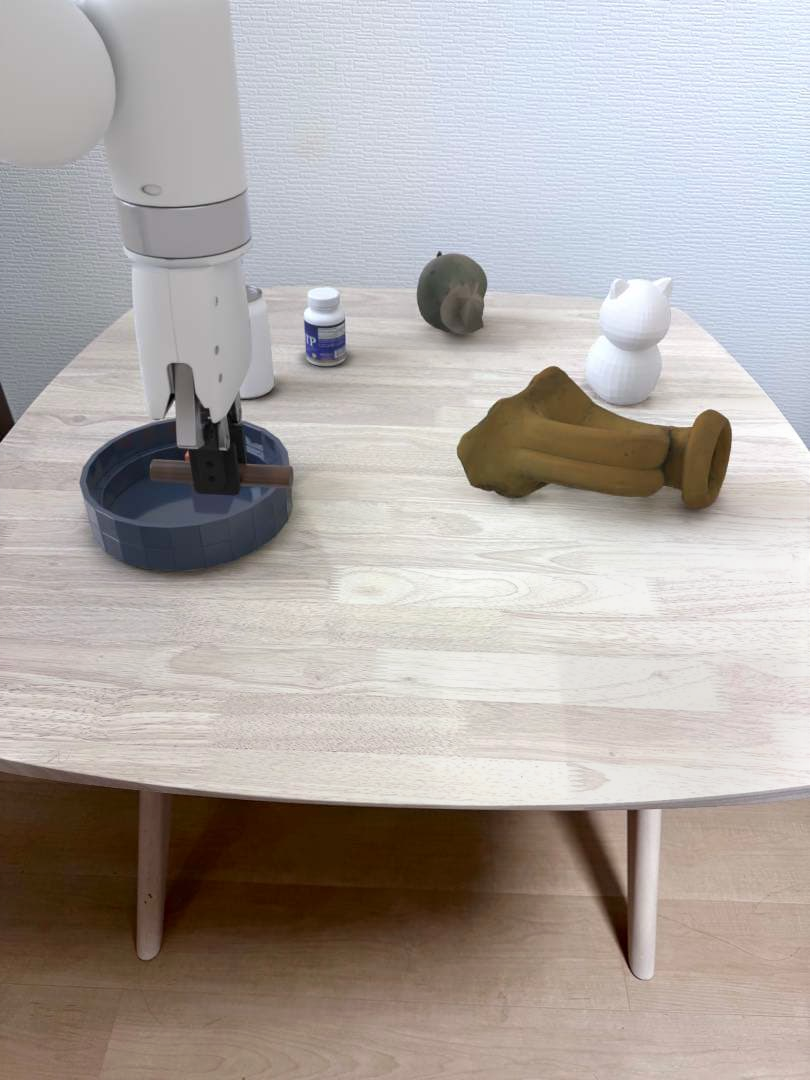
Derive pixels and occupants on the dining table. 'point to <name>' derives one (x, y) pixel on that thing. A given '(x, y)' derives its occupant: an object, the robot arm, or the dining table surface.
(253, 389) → the can
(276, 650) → the dining table surface
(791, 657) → the dining table surface
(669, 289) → the cat figurine
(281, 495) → the bowl
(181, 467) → the stick
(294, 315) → the dining table surface
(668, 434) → the brown looped sculpture
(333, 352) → the pill bottle
